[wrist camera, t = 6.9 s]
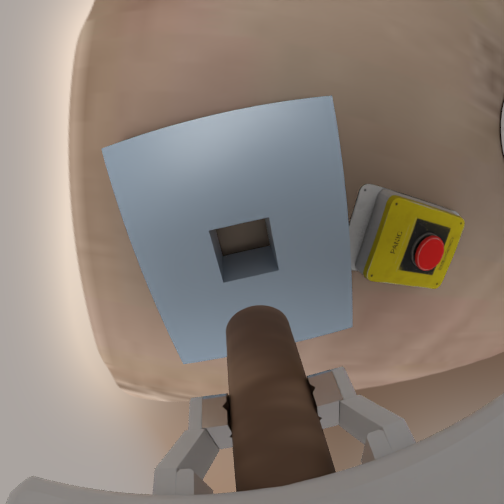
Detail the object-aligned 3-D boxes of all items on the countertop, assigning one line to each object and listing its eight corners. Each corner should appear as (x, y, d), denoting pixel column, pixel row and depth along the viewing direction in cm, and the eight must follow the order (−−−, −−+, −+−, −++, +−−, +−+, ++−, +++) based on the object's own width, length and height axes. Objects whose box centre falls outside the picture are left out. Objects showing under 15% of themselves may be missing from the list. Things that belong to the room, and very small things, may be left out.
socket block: (312, 99, 24) (332, 95, 19) (336, 299, 33) (352, 327, 28) (122, 142, 24) (101, 148, 19) (187, 332, 33) (183, 364, 28)
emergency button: (451, 297, 30) (348, 286, 27) (432, 279, 34) (333, 265, 31) (481, 224, 26) (380, 190, 24) (458, 212, 30) (359, 180, 28)
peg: (284, 298, 14) (343, 475, 6) (292, 346, 16) (338, 501, 7) (218, 313, 14) (225, 498, 6) (234, 359, 16) (250, 519, 7)
